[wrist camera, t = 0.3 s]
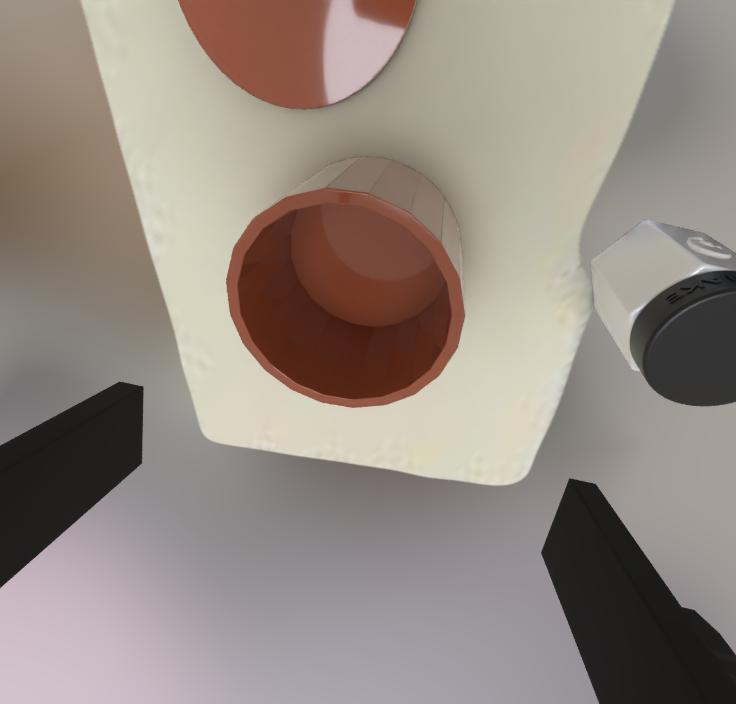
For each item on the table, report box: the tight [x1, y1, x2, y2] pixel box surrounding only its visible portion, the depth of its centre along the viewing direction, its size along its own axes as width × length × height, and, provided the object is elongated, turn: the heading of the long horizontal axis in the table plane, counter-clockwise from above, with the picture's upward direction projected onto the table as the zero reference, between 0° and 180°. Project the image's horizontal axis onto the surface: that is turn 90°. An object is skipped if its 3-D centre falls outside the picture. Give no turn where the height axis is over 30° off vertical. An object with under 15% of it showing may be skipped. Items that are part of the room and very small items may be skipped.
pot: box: [226, 157, 465, 408], centre depth 32 cm, size 16×16×12 cm
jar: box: [591, 220, 736, 406], centre depth 29 cm, size 9×8×12 cm
